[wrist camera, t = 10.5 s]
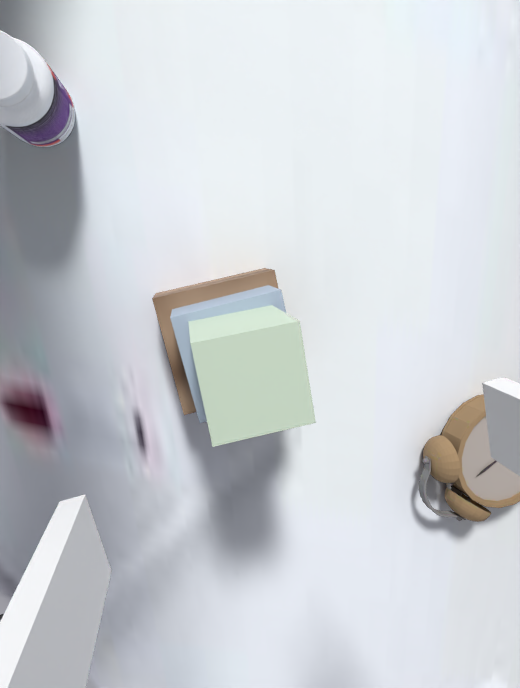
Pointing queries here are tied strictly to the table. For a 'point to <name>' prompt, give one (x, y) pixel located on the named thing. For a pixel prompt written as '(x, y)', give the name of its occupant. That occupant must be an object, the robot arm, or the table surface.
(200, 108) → the table surface
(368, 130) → the table surface
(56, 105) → the pill bottle
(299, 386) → the green block
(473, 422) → the alarm clock
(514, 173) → the table surface
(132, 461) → the table surface
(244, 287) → the tower base
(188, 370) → the tower top
